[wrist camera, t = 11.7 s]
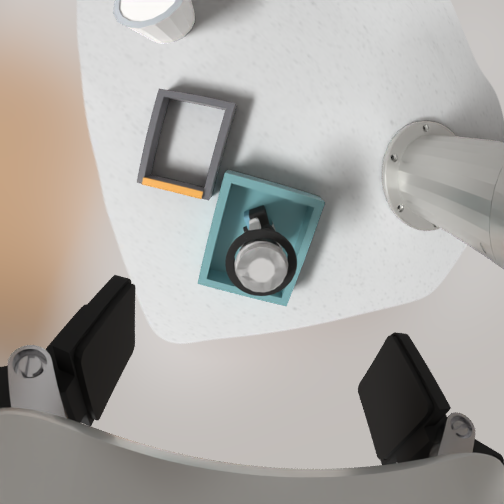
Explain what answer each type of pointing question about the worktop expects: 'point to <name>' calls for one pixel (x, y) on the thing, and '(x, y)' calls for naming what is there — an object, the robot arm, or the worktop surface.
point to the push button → (260, 257)
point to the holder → (153, 139)
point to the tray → (279, 211)
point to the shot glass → (156, 18)
